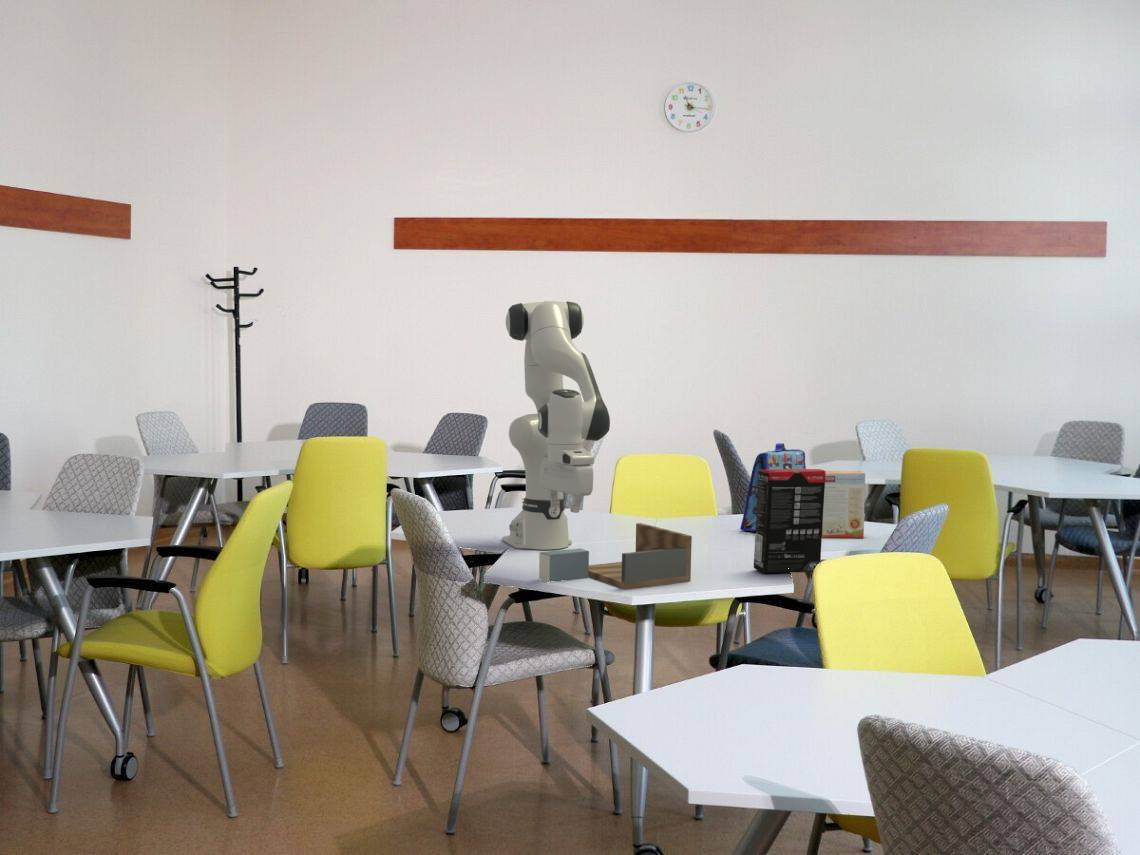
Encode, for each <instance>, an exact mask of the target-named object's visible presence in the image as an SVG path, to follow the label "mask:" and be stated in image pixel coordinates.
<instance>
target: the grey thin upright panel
mask: <svg viewBox="0 0 1140 855" xmlns="http://www.w3.org/2000/svg"><path fill="white" fill-rule="evenodd" d="M686 555H687V548H684V547H680V548H670V549H660V550H650V551H641V552H636V551H632V552H622V553H621V562H622V578H621V582H623V583H631V582H639V581H647V580H656V579H664V578H672V577H681V576H686Z"/></svg>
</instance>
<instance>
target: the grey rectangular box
mask: <svg viewBox="0 0 1140 855" xmlns="http://www.w3.org/2000/svg"><path fill="white" fill-rule="evenodd" d="M589 557H590V550H587V549H583V548H569V549H560V550H559V549H557V550H548V551H540V552H539V559H538V560H539V565H538V567H539V568H538V570H539V571H538V580H539V579H541V580H540V581H542V580H544V581H546V582H545V583H547V582H549V581H550V582H549V583H552V582H551V581H557V582H562V581H561V580H566V581H573V580H574V579H575V580H581V579H583V580H584V579H589V577H588V572H589V562H590V558H589ZM544 581H543V582H544Z"/></svg>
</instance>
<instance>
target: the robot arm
mask: <svg viewBox="0 0 1140 855" xmlns="http://www.w3.org/2000/svg"><path fill="white" fill-rule="evenodd" d="M584 325H585V319H584V313H583V311H582V307H581V306H580V305H579V304H578V303H577V302H574V301H566V302H565V301H555V300H552V301H551V300H544V301H538V302H537V301H535V302H529V303H528V302H527V303H522V302H519V303H516V304H512V305H511V306H510V307H509V308H508V310H507V313H506V315H505V328H506V330H507V333H508V336H509V337H510V338H512V339H513V340H516V341H522V342H523V341H525V344H524V359H523V360H524V362H523V363H524V390H525V391H524V392H525V393H526V396H527V397H529V399H530V400H532V402H533V404H534V406H535V408H536V411H537V412H536V413H530V414H529V413H527V414H525V415H521V416H520V417H517V418H515V419H514V420H513V421H512V422H511V423H510V425H509V428H508V438H509V442H510V443H511V445H512V446H513V447H514V449H516V450H517V452H518V453H519V455H520V457H521V460H522V462H523V463H522V464H523V467H524V472H525V497H524V498H521V501H522V502H521V503H522V507H521V509H522V510H521V511H520V512H519V513H518V514H517V515H516V516H515V517H514V518H513V519H511V522H510V524H509V535H504V536H502V537H501V540H502V541H503V542H505V543H506V544H508V545H509V546H511V547H512V548H514V549H528V550H529V549H530V550H545V551H546V550H559V549H560V550H561V549H565V548H567V547H568V546H569V545H571V544H572V542H573V541H572V539H570V537H569V524H568V520H569V519H568V516H567V515H566V514H565V512H564V511H565V509H566V502H565V499H566V498H564V494H569V495H572V499H573V500H572V504H571V505H569V506H570V513H573V514H576V513H578V514H579V513H580V511H581V510H580V509H581V508H580V507H581V506H580V505H581V503H582V501H583V497H586V496H591V494H592V493H593V489H594V469H593V466H592V465H593V464H594V463H595V457H594V454H591V453H590V452H589V451H588V450H586V448H585V447H584V440H585V441H596V442H599V441H600V440H601V439H603V438H604V437H605V436H606V435H607V434H608V433H609V432H610V428H611V417H610V414H609V410H608V408H607V405H606V404H605V401H604V400H603V397H602V394H601V391H600V389H599V386H598V384H597V380H596V378H595V375H594V371H593V370H592V366H591V363H590V361H589V359H588V357H587V355H586V354H585V353H583V352H582V351H580V350H579V349H578V348H577V346H576V345H575V344H574V342H573V340H574V339H576V338H577V337H578V336H579V335H580V334H581V333H582V330H583V328H584ZM564 377H566V378H567V377H568V378H570V379H572V380H573V381H575V382H576V384H577V386H578V388H579V391H580V392H579V391H577V390H574V389H569V388H568V389H566V388H565V389H564ZM582 399H583V400H582Z"/></svg>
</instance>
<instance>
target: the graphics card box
mask: <svg viewBox="0 0 1140 855" xmlns="http://www.w3.org/2000/svg"><path fill="white" fill-rule="evenodd" d="M825 471H826V470H824V469H821V468H806V469H764V470H759V475H758V495H757V515H756V532H755V535H754V536H755V537H754V554H753V569H754V570H757V571H758V572H761V573H763V574H780V573H782V574H783V573H784V574H785V573H786V574H788V573H813V572H812V570H813V568H814V566H816V565H817V564H818V563H819V562H820V563H821V558H822V542H823V541H822V539H823V538H822V525H823V508H824V491H825V475H826V473H825ZM788 568H789V569H788Z"/></svg>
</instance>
